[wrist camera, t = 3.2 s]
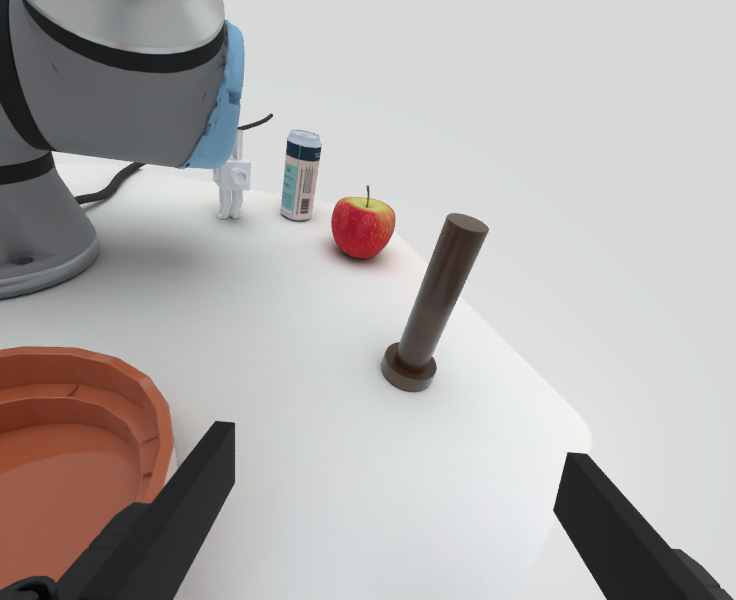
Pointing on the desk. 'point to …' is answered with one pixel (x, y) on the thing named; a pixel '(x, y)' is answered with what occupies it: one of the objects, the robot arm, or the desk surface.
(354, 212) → the apple
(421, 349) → the muddler
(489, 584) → the desk surface
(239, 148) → the toy robot
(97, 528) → the bowl
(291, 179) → the beer can
